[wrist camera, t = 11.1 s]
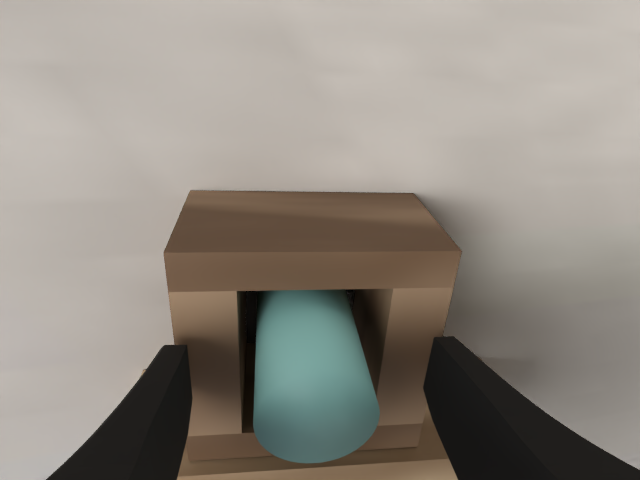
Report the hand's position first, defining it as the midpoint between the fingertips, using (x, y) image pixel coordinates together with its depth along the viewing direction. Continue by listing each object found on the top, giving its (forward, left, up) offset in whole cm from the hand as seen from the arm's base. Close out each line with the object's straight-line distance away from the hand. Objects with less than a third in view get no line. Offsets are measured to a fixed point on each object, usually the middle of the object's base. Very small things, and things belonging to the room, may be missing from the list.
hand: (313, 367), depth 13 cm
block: (0, 0, -5) cm, 5 cm away
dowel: (0, 0, -5) cm, 5 cm away
